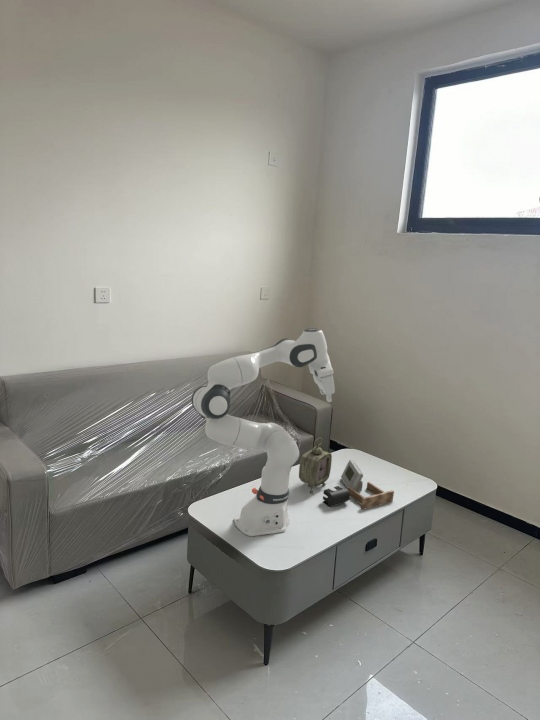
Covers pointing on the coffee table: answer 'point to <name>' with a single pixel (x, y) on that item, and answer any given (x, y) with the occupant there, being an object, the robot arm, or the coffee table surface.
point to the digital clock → (352, 476)
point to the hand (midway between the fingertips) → (326, 397)
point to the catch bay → (372, 500)
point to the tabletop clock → (315, 466)
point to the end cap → (336, 496)
